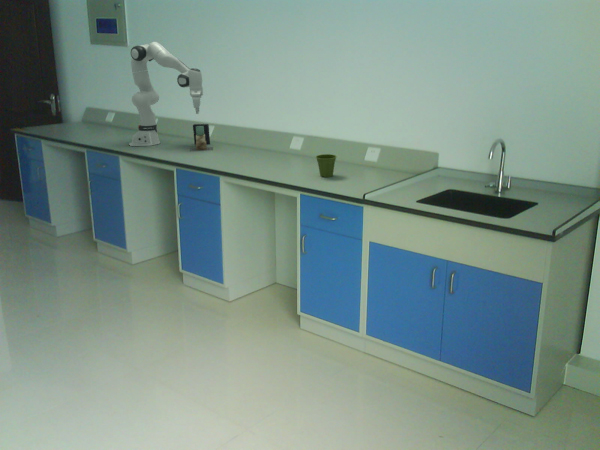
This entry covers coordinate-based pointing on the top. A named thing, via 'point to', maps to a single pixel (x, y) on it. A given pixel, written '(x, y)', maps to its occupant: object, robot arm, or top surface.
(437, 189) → the top surface
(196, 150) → the mat
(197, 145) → the bottom block
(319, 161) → the plant pot
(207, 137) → the black upright flat panel
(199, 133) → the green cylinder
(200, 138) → the top block
